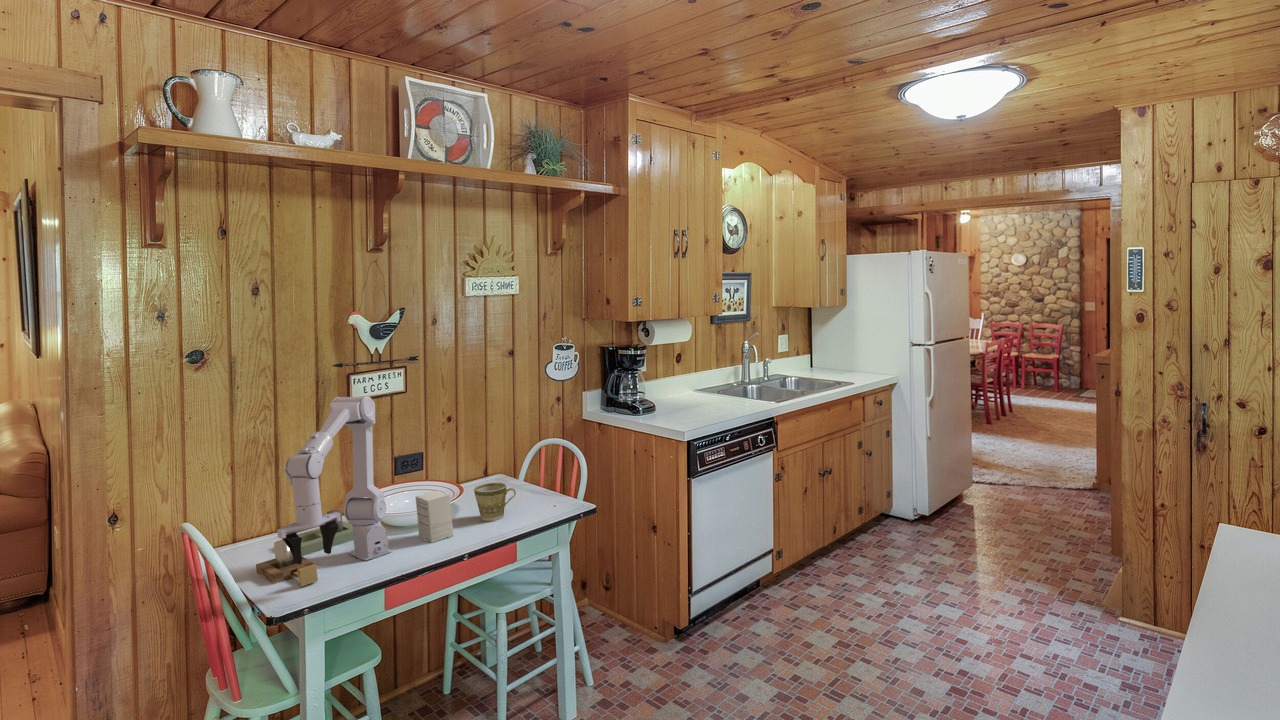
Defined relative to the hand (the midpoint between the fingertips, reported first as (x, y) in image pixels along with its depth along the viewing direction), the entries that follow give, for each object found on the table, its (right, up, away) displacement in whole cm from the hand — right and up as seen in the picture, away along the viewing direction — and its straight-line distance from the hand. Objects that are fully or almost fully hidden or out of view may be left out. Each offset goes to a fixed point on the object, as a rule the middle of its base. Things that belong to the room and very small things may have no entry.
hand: (313, 557), depth 170 cm
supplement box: (+20, -4, +35) cm, 40 cm away
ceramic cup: (+34, -2, +50) cm, 61 cm away
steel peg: (-14, -8, +15) cm, 22 cm away
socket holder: (-14, -8, +15) cm, 22 cm away
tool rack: (-14, -5, +36) cm, 39 cm away
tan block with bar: (-6, -8, +7) cm, 12 cm away
